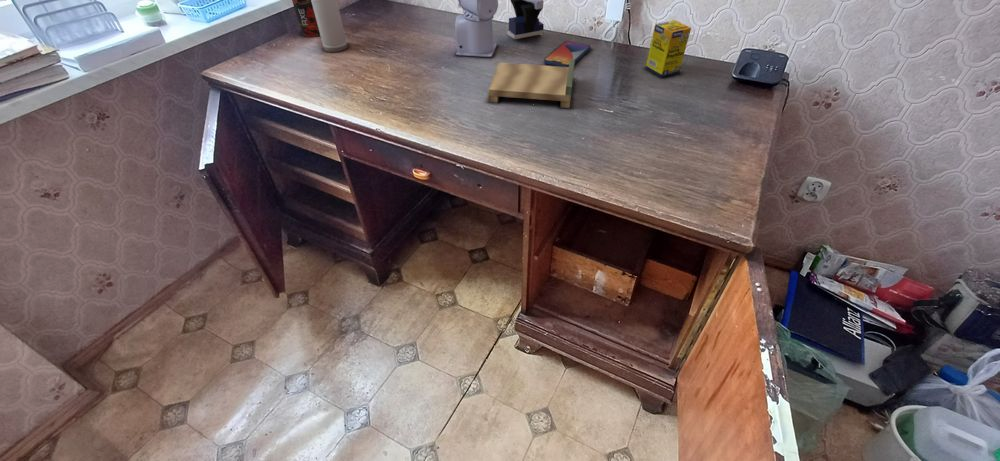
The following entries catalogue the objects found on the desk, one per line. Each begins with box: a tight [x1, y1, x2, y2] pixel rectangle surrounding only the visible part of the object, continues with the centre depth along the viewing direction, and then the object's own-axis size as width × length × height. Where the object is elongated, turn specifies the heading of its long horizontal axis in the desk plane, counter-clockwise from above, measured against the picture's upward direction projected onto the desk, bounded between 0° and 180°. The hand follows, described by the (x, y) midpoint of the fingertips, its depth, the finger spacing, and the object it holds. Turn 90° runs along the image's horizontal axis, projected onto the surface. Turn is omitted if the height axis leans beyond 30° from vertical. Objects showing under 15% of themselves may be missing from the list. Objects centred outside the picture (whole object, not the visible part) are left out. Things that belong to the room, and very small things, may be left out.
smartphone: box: [543, 40, 591, 67], centre depth 121 cm, size 7×15×1 cm, turn 151°
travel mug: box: [311, 0, 349, 53], centre depth 119 cm, size 6×7×20 cm
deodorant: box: [291, 0, 320, 38], centre depth 129 cm, size 6×6×15 cm
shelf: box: [488, 59, 576, 109], centre depth 106 cm, size 18×14×5 cm
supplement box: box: [645, 19, 692, 78], centre depth 111 cm, size 6×6×11 cm
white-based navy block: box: [506, 16, 545, 40], centre depth 129 cm, size 9×4×4 cm, turn 116°
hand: (525, 28), depth 129 cm, fingers closed on white-based navy block, 4 cm apart
